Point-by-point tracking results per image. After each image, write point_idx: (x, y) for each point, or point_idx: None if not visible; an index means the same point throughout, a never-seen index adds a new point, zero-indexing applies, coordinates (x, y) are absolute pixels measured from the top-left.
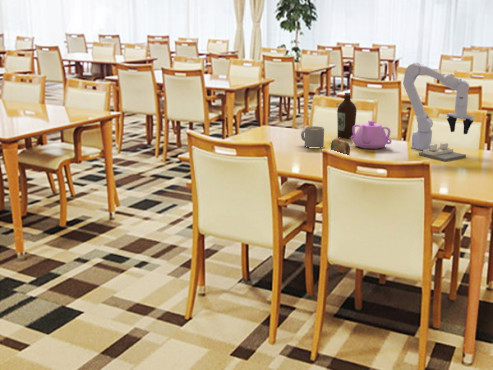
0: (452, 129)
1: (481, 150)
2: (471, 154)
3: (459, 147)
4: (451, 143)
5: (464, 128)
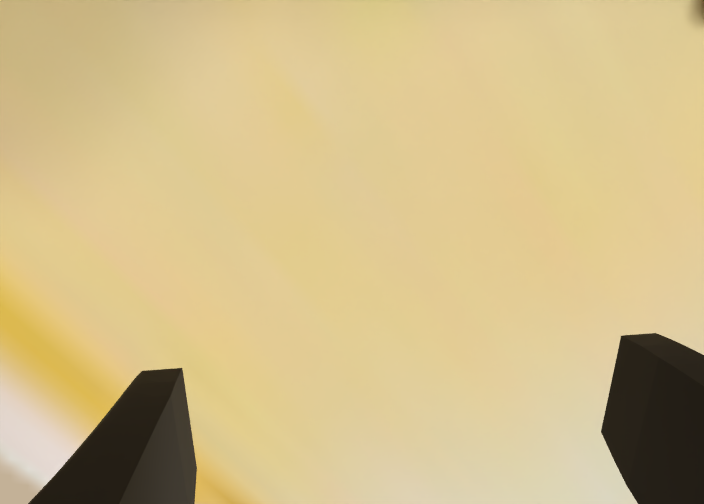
0: (660, 407)
1: None
2: (43, 197)
3: (486, 417)
4: None
5: (84, 494)
